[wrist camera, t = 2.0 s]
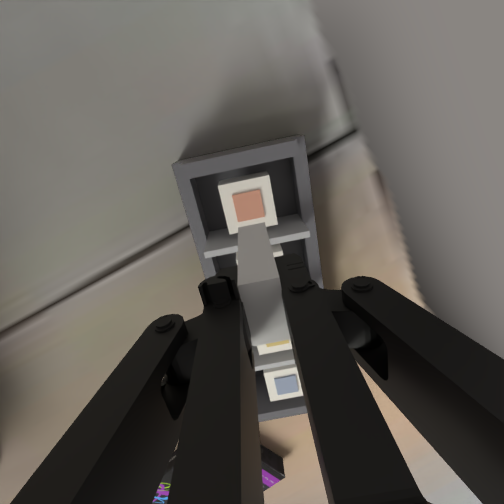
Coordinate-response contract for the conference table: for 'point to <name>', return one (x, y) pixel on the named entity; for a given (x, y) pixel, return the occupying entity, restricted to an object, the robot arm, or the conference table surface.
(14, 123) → the conference table surface
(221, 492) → the robot arm
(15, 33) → the conference table surface
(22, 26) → the conference table surface
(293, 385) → the key
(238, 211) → the key
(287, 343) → the key
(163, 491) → the box
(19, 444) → the conference table surface
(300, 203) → the keypad
